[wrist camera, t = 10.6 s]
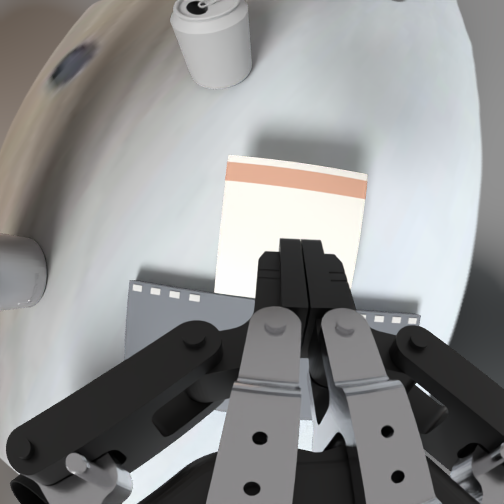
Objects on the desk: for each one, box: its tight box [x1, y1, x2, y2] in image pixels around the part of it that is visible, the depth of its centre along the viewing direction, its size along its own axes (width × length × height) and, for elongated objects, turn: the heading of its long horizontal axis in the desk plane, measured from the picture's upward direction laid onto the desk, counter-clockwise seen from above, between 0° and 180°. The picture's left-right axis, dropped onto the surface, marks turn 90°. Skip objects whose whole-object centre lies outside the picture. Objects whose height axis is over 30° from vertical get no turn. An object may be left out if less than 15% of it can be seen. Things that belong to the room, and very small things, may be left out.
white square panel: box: [214, 155, 368, 298], centre depth 25 cm, size 12×1×12 cm
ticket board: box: [125, 280, 421, 420], centre depth 27 cm, size 30×12×2 cm, turn 83°
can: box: [170, 0, 252, 89], centre depth 24 cm, size 8×8×12 cm
